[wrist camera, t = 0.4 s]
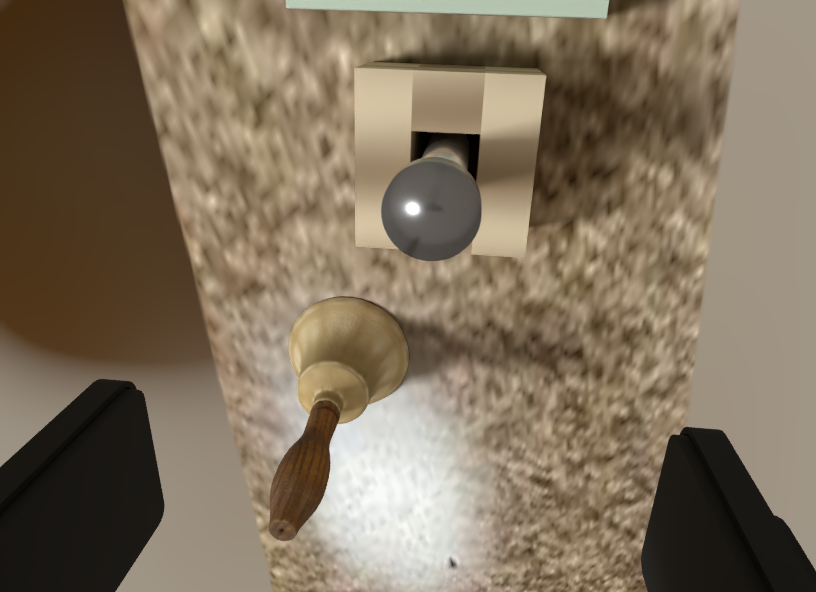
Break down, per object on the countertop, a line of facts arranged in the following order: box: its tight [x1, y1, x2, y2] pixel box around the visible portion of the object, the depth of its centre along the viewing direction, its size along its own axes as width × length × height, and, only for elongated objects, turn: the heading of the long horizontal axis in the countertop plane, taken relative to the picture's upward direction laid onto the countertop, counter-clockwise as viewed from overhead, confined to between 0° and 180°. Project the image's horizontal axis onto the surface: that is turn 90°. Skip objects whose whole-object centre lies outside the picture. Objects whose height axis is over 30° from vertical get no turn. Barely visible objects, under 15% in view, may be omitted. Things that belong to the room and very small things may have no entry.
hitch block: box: [355, 62, 546, 258], centre depth 32 cm, size 9×9×5 cm
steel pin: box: [381, 132, 482, 261], centre depth 29 cm, size 4×4×13 cm
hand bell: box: [269, 297, 409, 541], centre depth 34 cm, size 8×8×16 cm
